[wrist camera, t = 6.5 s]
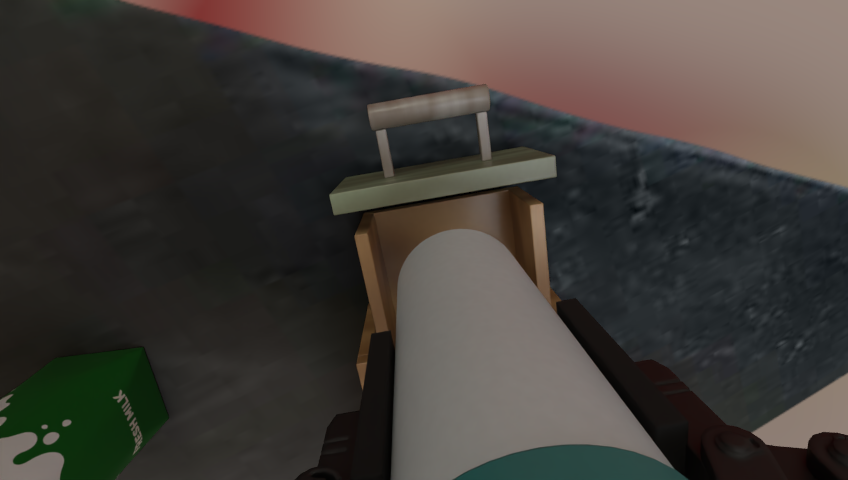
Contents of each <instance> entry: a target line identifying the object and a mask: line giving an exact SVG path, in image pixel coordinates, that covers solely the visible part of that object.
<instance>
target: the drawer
mask: <svg viewBox="0 0 848 480" xmlns="http://www.w3.org/2000/svg"><path fill="white" fill-rule="evenodd" d="M489 109H490V95H489V90H488V87H487V85H486V84H483V85H477V86H471V87H466V88H460V89H454V90H448V91H443V92H437V93H431V94H426V95H420V96H414V97H409V98H403V99H397V100H392V101H386V102H380V103H375V104H369V105H367V110H368V116H369V121H370V125H371V129H372V131H376V130H377V131H376V136H377V141H378V146H379V151H380V156H381V161H382V166H383V171H380V172H375V173H369V174H363V175H357V176H352V177H346V178H345V179H344V180H343V181H342V182H341V183H340V184H339V185H338V186H337V187H336V188H335V189H334V190H333V191H332V192H331V194H330V195H329V197H330V201H331V205H332V209H333V213H334V215H339V214H345V213H351V212H356V211H362V210H368V209H374V208H380V207H385V206H391V205H397V204H403V203H408V202H414V201H420V200H426V199H432V198H437V197H443V196H449V195H455V194H460V193H466V192H472V191H478V190H484V189H489V188H495V187H501V186H507V185H512V184H518V183H524V182H530V181H536V180H541V179H547V178H553V177H556V176H557V175H556V161H555V156H554V155H551V154H547V153H544V152H540V151H537V150H533V149H530V148H526V147H518V148H513V149H507V150H501V151H495V152H491V146H490V138H489V129H488V121H487V112H486V111H489ZM473 113H475V117H476V125H477V133H478V141H479V149H480V154H478V155H472V156H467V157H461V158H455V159H449V160H444V161H438V162H432V163H426V164H421V165H415V166H409V167H403V168H398V169H393V163H392V158H391V153H390V148H389V142H388V137H387V132H386V129H387V128H393V127H398V126H404V125H410V124H415V123H421V122H427V121H433V120H438V119H444V118H450V117H455V116H461V115H467V114H473ZM453 229H471V230H476V231H480V232H483V233H486V234H488V235H490V236H492V237H494V238H495V239H497V240H498V241H500V242H501V243H502V244H503V245H504V246H505V247H506V248H507V249H508V250H509V251H510V252H511V254H512V255H513V256H514V258H515V259H516V260H517V262H518V263H519V264H520V266H521V267H522V268H523V270H524V271H525V272H526V274H527V275H528V276H529V278H530V279H531V280H532V282H533V283H534V284H535V285H536V287H537V288H538V289H539V291H540V292H541V293H542V295H543V296H544V297H545V299H546V300H547V301H548V303H549V304H550V305H551V295H550V282H549V270H548V258H547V246H546V234H545V222H544V209H543V203H542V202H540V201H539V200H537V199H536V198H534V197H533V196H531V195H530V194H528V193H527V192H525V191H523V190H522V189H520V188H519V187H518V186H515V187H509V188H503V189H498V190H492V191H486V192H480V193H474V194H469V195H463V196H457V197H451V198H446V199H440V200H434V201H428V202H422V203H417V204H411V205H405V206H399V207H393V208H388V209H382V210H376V211H370V212H365V213H364V214H363V217H362V219H361V222H360V224H359V226H358V229H357V231H356V233H355V236H354V237H355V242H356V246H357V250H358V255H359V259H360V264H361V268H362V272H363V277H364V281H365V285H366V290H367V294H368V299H369V303H370V307H371V312H372V316H373V321H374V325H375V329H376V333H378V332H384V331H389V330H391V334H392V339H393V344H394V348H395V343H396V315H397V287H398V278H399V274H400V271H401V268H402V266H403V264H404V262H405V260H406V258H407V257H408V255H409V254H410V253H411V252H412V251H413V249H414V248H415V247H417V246H418V245H419V244H420V243H421V242H423V241H424V240H425V239H427V238H429V237H431V236H433V235H435V234H437V233H440V232H443V231H447V230H453Z"/></svg>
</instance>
